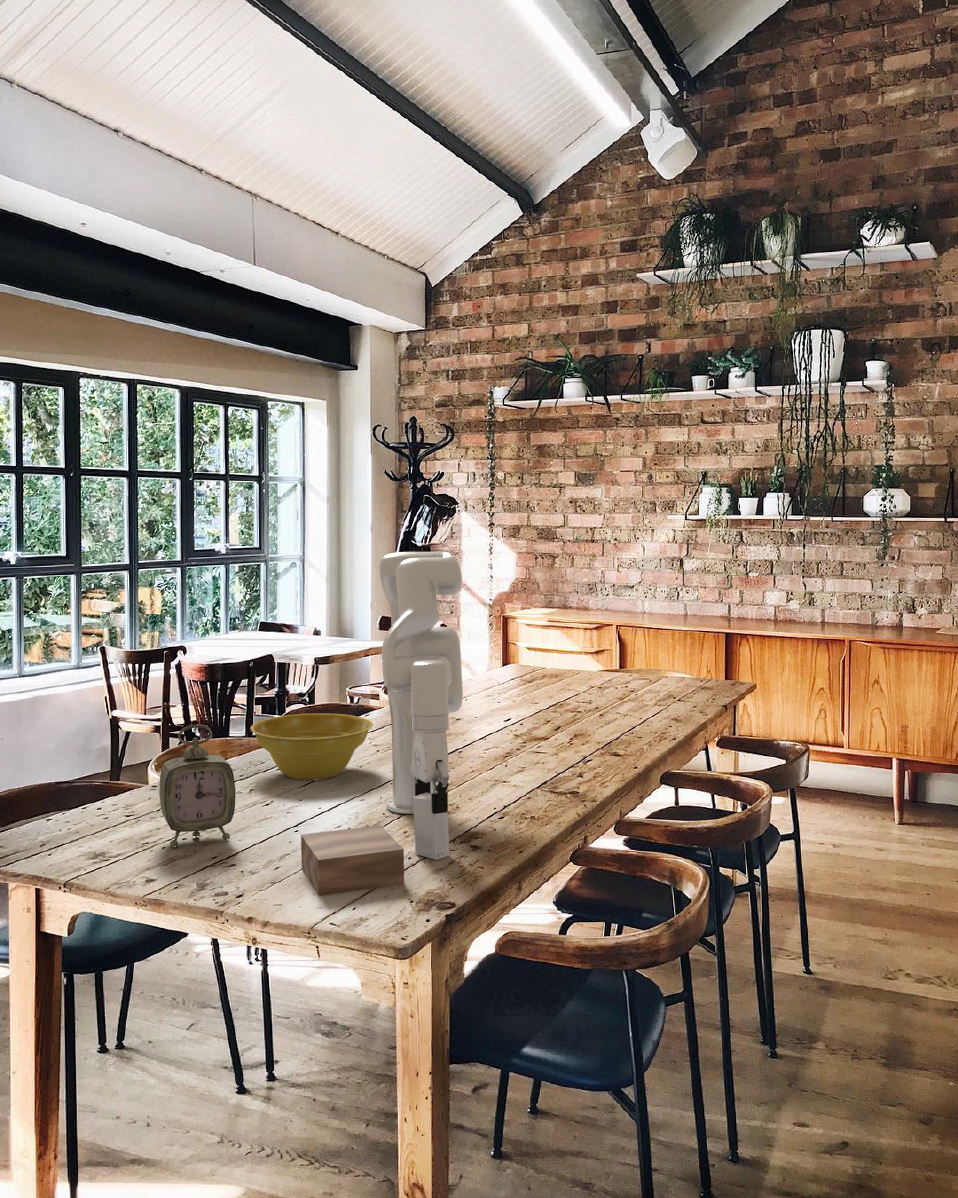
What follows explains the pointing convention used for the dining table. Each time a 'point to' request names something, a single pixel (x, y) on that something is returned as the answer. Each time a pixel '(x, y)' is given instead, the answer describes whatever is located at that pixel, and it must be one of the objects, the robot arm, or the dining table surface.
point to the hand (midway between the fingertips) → (431, 807)
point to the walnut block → (352, 860)
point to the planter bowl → (311, 742)
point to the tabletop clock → (197, 790)
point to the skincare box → (430, 829)
